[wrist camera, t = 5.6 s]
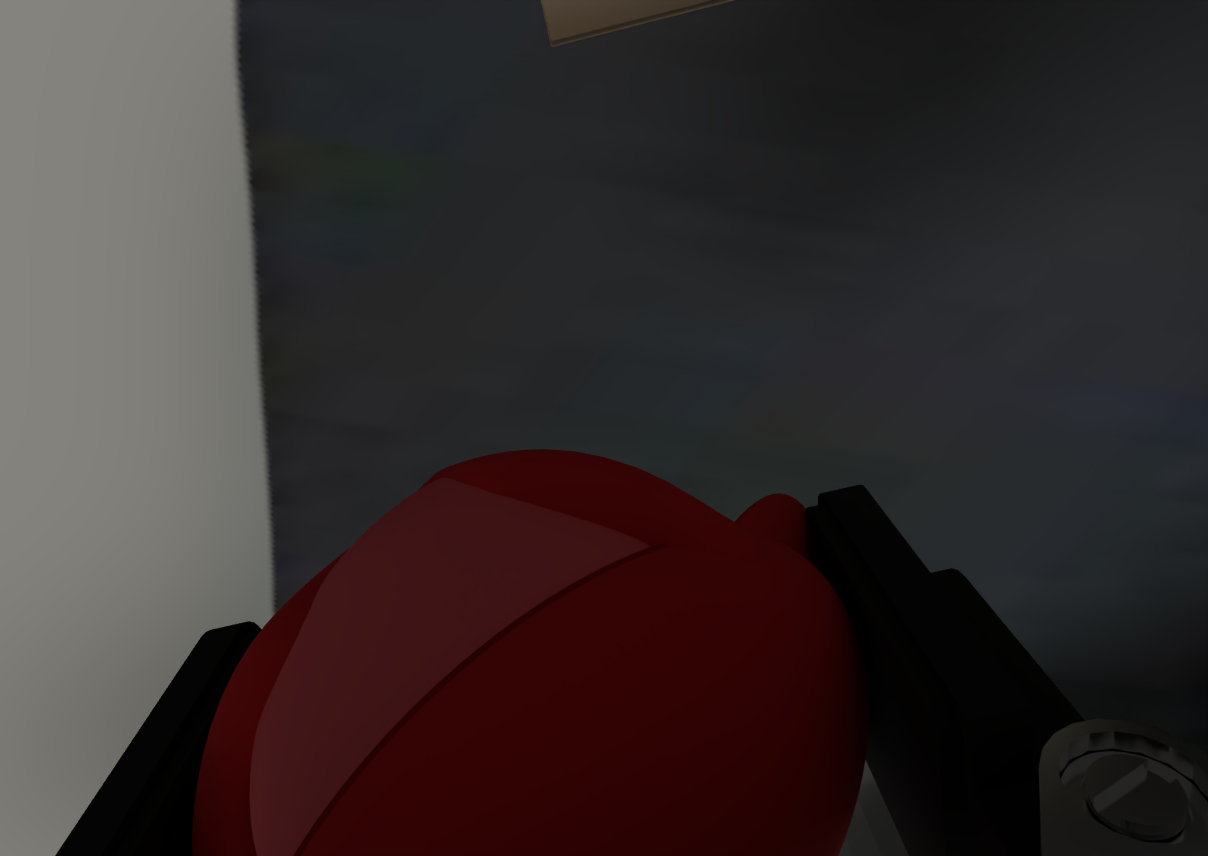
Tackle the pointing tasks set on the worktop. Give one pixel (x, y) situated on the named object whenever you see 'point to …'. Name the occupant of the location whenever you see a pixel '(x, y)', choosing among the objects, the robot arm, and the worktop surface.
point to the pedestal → (609, 15)
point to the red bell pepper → (547, 681)
